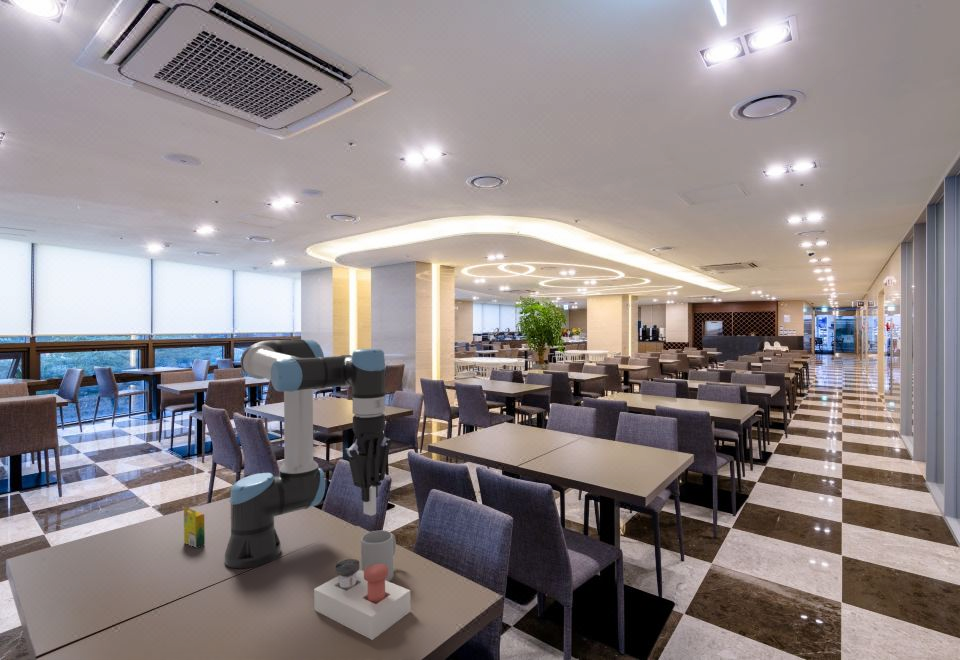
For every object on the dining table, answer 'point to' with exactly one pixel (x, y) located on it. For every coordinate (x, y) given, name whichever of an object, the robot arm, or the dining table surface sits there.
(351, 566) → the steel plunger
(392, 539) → the mug
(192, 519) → the crayon box
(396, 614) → the white socket block
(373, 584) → the red plunger
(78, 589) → the dining table surface
